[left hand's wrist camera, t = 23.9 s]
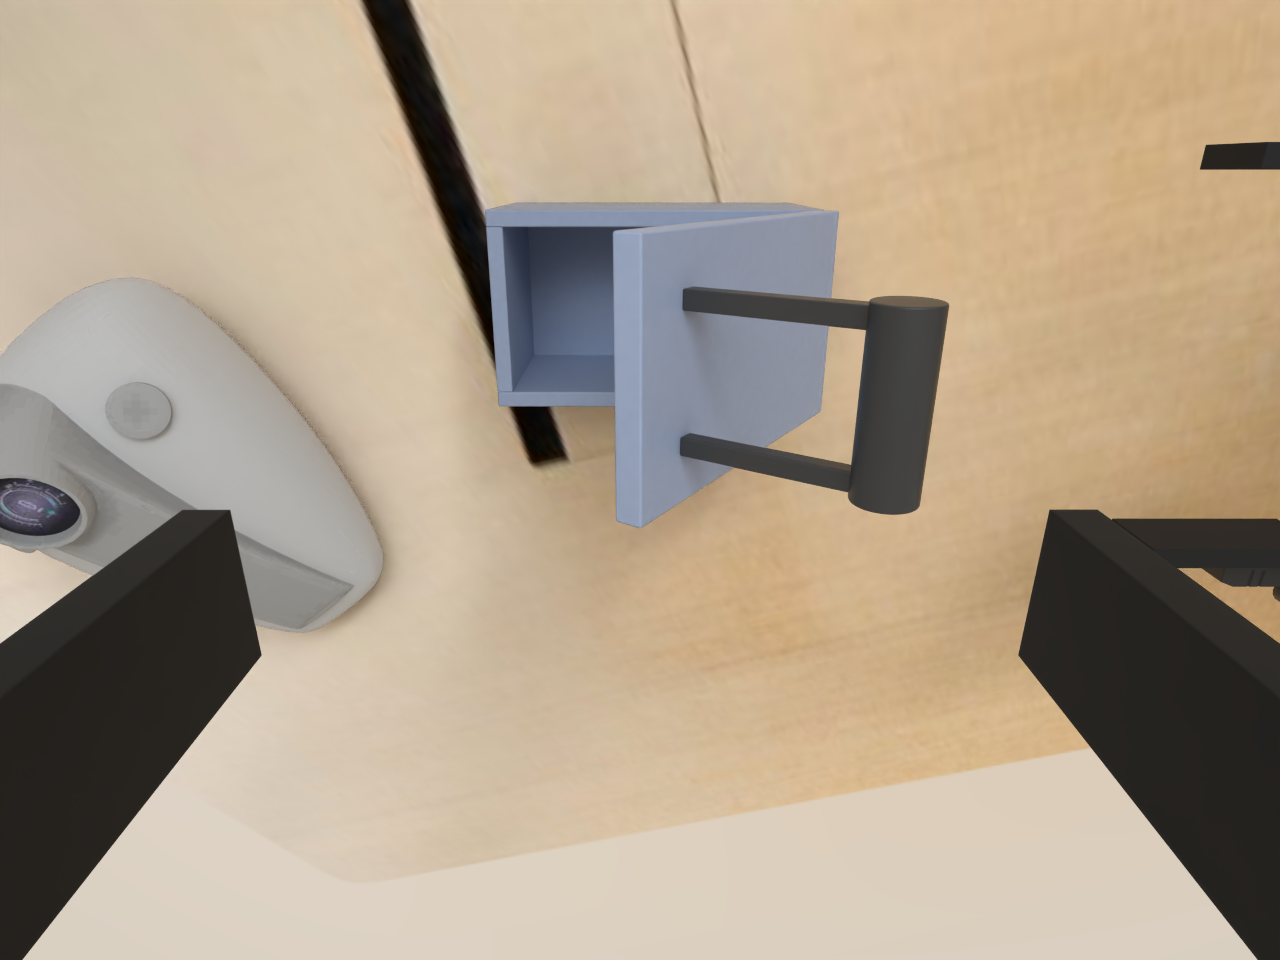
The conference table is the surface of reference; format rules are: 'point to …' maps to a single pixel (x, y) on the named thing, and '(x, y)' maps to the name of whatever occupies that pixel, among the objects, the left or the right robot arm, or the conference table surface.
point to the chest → (570, 291)
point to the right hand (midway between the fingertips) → (1174, 367)
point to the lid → (759, 363)
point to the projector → (172, 451)
